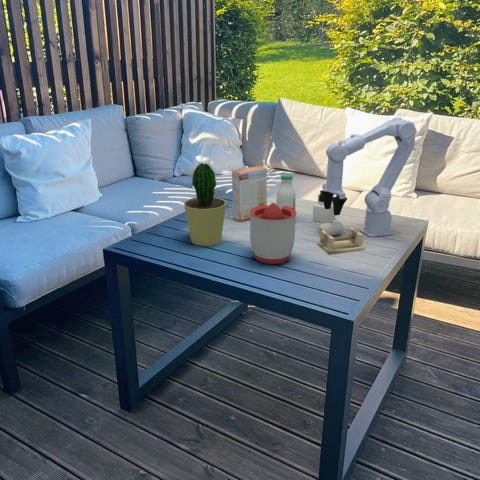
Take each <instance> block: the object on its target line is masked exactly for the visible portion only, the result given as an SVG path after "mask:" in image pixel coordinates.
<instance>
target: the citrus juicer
mask: <svg viewBox="0 0 480 480" xmlns="http://www.w3.org/2000/svg"><path fill="white" fill-rule="evenodd" d="M297 212H298V211H296V209H295V210H294V209H293V208H291V207H288V206H283V207H282V208H281V209H280V208H279V207H278V206H277V205H276V202H272V203H270V204H269V205H268V204H267V205H261V206H257V207H254V208H252V209H251V210H250V219H249V221H250V222H249V224H250V227H249V228H250V230H249V234H250V235H249V236H250V237H249V239H250V246H251V249H252V254H253V256H254V257H255V259H256V261H258V262H259V263H263V264H266V265H267V264H269V265H277V264H280V265H281V264H283V263H285V262H287V261H288V260H289V258H290V256H291V255H292V251H293V248H294V244H295V239H296V238H295V237H296V216H297V214H298V213H297Z"/></svg>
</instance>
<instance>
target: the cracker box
mask: <svg viewBox="0 0 480 480" xmlns="http://www.w3.org/2000/svg"><path fill="white" fill-rule="evenodd" d="M231 181H232V183H231V185H232V187H231V189H232V191H231V192H232V218H233V219H234V220H236V221H238V222H245V221H250V210H251V209H252V208H254V207H257V206H261V205H267V206H268V203H267V201H268V195H267V194H268V193H267V192H268V188H267V187H268V168H267V167H265V166H262V165H256V166H250V167H249V166H248V167H245V168H239V169H233V170H231Z"/></svg>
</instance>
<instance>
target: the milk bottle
mask: <svg viewBox="0 0 480 480" xmlns="http://www.w3.org/2000/svg"><path fill="white" fill-rule="evenodd" d="M293 179H294V176H293V174H291V173H282V174H281V175H280V181H281V183H280V185H279V187H278V190H277V192H276V202H275V204H276V205H277V206H278V207H279V208H280V209H281V208H282V207H283V206H288V207H291V208H293V209H294V210H296V191H295V188H294V186H293Z"/></svg>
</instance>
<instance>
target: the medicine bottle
mask: <svg viewBox="0 0 480 480" xmlns="http://www.w3.org/2000/svg"><path fill="white" fill-rule="evenodd" d="M334 220H336V216H335V215H334V210H333V202H332V204H331V208H330V209H325V207H324V202H323V198H322V195H321V193H320V192H318V193H317V201H316V203H314V204H313V206H312V222H316V223H318V224H322V223H331V222H334Z"/></svg>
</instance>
